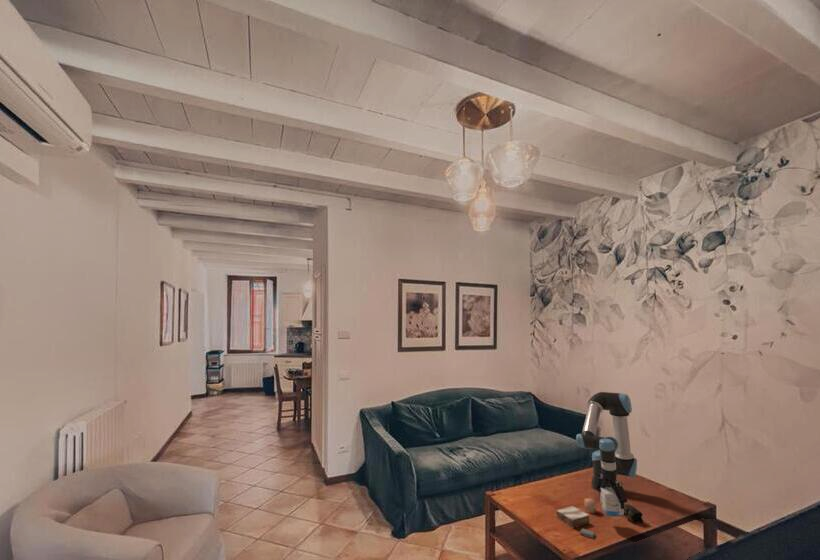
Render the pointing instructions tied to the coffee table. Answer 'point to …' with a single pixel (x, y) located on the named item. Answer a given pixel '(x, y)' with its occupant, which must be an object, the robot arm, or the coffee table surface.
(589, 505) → the tan rounded cylinder
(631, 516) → the sculpture
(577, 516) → the plinth
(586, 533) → the gray rectangular block
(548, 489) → the coffee table surface
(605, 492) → the ink box
